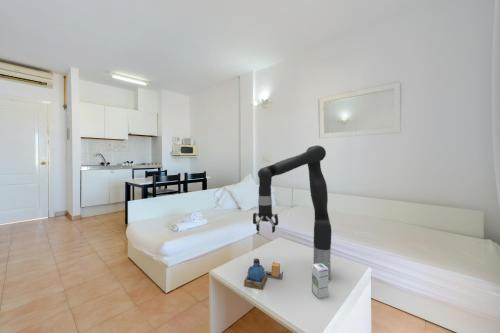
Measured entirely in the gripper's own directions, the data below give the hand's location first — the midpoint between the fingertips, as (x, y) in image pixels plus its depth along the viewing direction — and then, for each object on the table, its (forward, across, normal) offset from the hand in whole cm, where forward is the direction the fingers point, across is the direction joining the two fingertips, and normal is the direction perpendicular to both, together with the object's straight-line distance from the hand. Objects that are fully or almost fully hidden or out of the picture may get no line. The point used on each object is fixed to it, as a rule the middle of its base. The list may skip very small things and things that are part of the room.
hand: (265, 231), depth 118 cm
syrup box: (+27, -29, +7) cm, 40 cm away
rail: (+26, +1, -2) cm, 26 cm away
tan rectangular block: (+25, -3, -2) cm, 25 cm away
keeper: (+26, +4, +7) cm, 27 cm away
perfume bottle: (+26, +4, +7) cm, 27 cm away
